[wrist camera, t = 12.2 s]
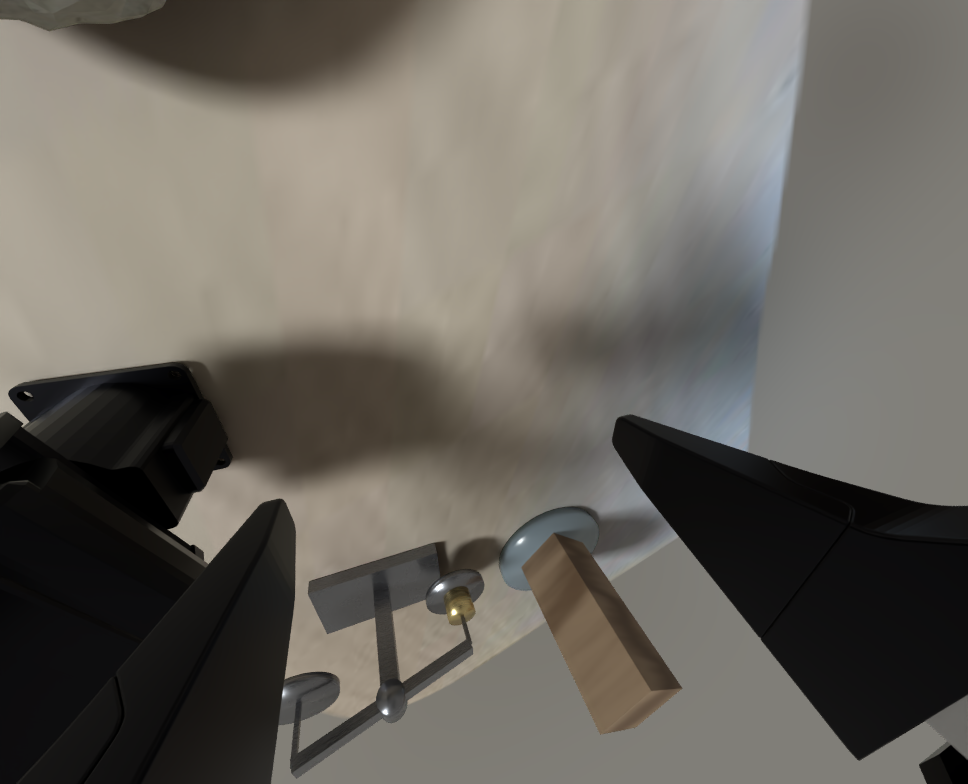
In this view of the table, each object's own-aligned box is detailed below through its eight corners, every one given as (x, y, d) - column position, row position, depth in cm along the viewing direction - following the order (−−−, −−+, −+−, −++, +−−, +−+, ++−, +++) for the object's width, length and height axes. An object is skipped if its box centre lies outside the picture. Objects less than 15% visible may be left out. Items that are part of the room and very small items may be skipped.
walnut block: (520, 567, 34) (600, 734, 24) (553, 532, 33) (651, 691, 23) (551, 574, 37) (635, 727, 27) (582, 542, 36) (682, 688, 26)
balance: (285, 636, 29) (262, 811, 21) (260, 596, 26) (222, 783, 18) (473, 571, 34) (515, 694, 26) (471, 531, 31) (518, 655, 23)
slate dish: (498, 594, 37) (502, 603, 37) (499, 526, 32) (503, 535, 31) (586, 562, 40) (591, 569, 40) (600, 494, 35) (606, 502, 34)
